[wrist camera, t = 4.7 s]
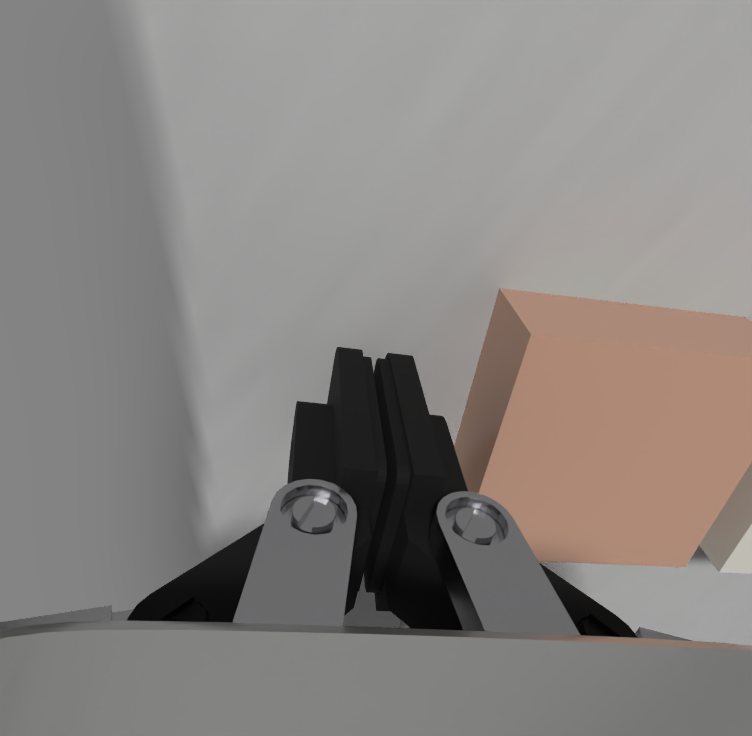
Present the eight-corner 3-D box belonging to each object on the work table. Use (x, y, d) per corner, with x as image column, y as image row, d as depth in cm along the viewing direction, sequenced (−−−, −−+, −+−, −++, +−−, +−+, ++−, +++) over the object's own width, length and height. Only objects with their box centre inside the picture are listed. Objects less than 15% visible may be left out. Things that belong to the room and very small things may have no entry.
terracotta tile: (494, 282, 13) (531, 334, 10) (735, 310, 13) (813, 364, 11) (438, 484, 16) (457, 557, 13) (637, 497, 16) (685, 567, 14)
